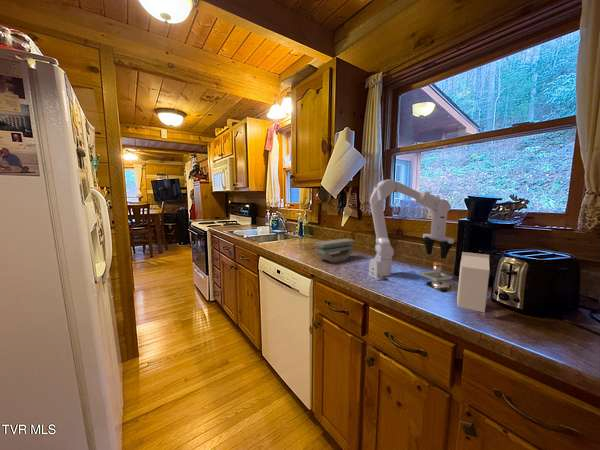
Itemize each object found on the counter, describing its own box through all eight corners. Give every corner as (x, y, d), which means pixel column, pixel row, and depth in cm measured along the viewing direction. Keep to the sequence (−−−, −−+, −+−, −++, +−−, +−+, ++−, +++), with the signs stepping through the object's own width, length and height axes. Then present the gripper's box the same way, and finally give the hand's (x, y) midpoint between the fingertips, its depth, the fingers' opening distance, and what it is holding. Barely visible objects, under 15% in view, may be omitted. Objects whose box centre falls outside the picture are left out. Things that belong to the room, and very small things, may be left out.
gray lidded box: (322, 264, 129) (323, 244, 128) (313, 261, 136) (314, 242, 134) (354, 258, 143) (355, 240, 142) (345, 255, 150) (345, 238, 149)
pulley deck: (443, 296, 89) (443, 287, 89) (423, 287, 98) (424, 279, 97) (468, 292, 93) (469, 283, 93) (447, 284, 102) (448, 276, 101)
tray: (435, 284, 102) (436, 278, 101) (420, 278, 109) (420, 272, 109) (451, 282, 104) (452, 276, 104) (435, 276, 112) (436, 271, 112)
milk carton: (484, 316, 74) (491, 257, 72) (457, 310, 78) (462, 254, 76) (481, 308, 80) (487, 252, 78) (456, 302, 84) (461, 250, 82)
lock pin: (436, 280, 104) (438, 264, 104) (429, 278, 108) (431, 262, 107) (442, 280, 106) (444, 264, 105) (435, 277, 109) (437, 261, 108)
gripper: (460, 228, 101) (457, 259, 102) (432, 224, 114) (429, 252, 116) (447, 228, 98) (444, 260, 100) (420, 224, 112) (418, 252, 114)
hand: (435, 256), depth 108 cm, fingers open, 7 cm apart
